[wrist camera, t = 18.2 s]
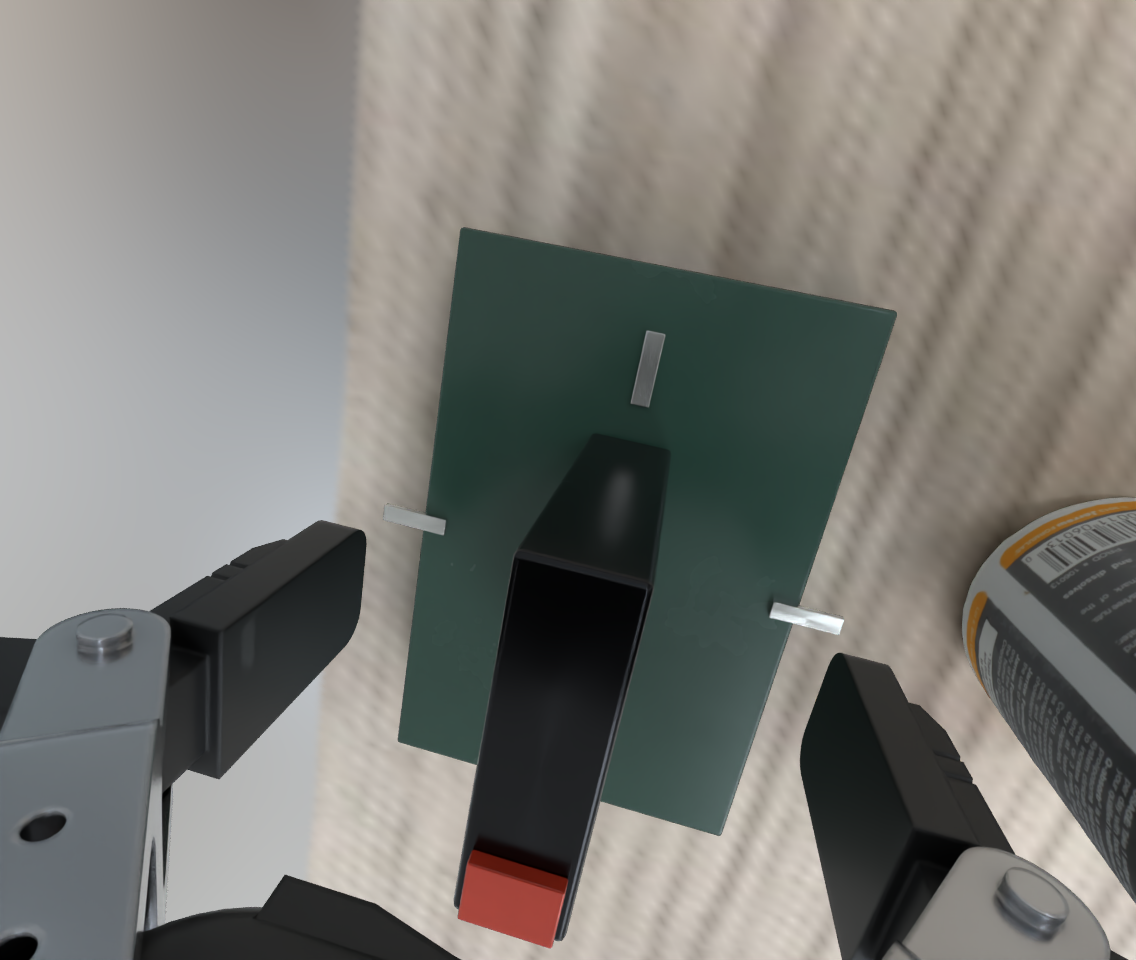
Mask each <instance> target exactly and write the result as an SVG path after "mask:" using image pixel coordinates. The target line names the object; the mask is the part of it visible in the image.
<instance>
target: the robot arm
mask: <svg viewBox="0 0 1136 960" xmlns="http://www.w3.org/2000/svg"><path fill="white" fill-rule="evenodd" d="M365 556H366V536H365V533H364V532H363V531H362V530H359V529H355V528H351V527H347V526H343V525H339V524H335V523H331V522H327V521H323V520H321V521H317V522H315V523H314V524H312V525H311V526H309V527H308V528H306V529H304V530H303V531H301V532H300V533H298V534H297V535H295V536H294V537H292V538H290V539H289V540H284V539H282V540H279V541H275V542H272V543H268V544H265V545H262V546H258V547H255V548H252V549H251V550H249V551H247V552H246V553H244V554H242V555H241V556H239V557H237V558H236V559H234V560H232V561H231V563H230V565H227V564H226V565H224V566H223V567H221V568H219V569H218V570H216V571H214V572H213V573H212V576H211V577H210V576H206V577H205V578H203V579H201V580H200V581H198V582H197V583H195V584H193V585H192V586H190V587H188V588H187V589H185V590H183V591H182V592H180V593H178V594H177V595H175V596H174V597H172V598H170V599H169V600H167V601H165V602H164V603H162V604H161V605H159V606H157V607H156V608H154V609H153V610H151V611H149V612H148V611H144V610H138V609H127V608H119V609H118V608H117V609H105V610H98V611H92V612H88V613H84V614H80V615H77V616H74V617H71V618H68V619H66V620H64V621H61V622H59V623H57V624H55V625H54V626H52V627H50V628H49V629H48V630H46V631H45V632H44V633H43V634H42V635H41V636H40V637H39V638H38V639H23V638H5V637H0V960H461V959H459V958H457V957H455V956H454V955H452V954H451V953H449V952H448V951H446V950H444V949H443V948H441V947H440V946H438V945H437V944H435V943H434V942H432V941H431V940H429V939H428V938H426V937H425V936H423V935H422V934H420V933H419V932H417V931H416V930H414V929H413V928H411V927H410V926H408V925H407V924H405V923H404V922H402V921H401V920H399V919H398V918H396V917H395V916H393V915H392V914H390V913H389V912H387V911H386V910H384V909H383V908H381V907H380V906H378V905H377V904H375V903H372V902H369V901H365V900H362V899H359V898H356V897H353V896H350V895H347V894H344V893H341V892H337V891H334V890H331V889H328V888H325V887H322V886H319V885H316V884H313V883H309V882H306V881H303V880H300V879H296V878H294V877H291V876H288V875H284V877H283V878H282V880H281V881H280V883H279V884H278V885H277V887H276V888H275V890H274V891H273V893H272V894H271V896H270V897H269V899H268V900H267V902H266V903H265V904H264V906H263V907H262V908H261V907H245V908H233V909H222V910H217V911H211V912H206V913H200V914H196V915H192V916H189V917H185V918H182V919H178V920H175V921H171V922H168V923H166V924H165V914H166V899H167V882H168V868H169V852H170V836H171V835H170V834H171V820H172V805H173V783H174V782H175V780H177V779H178V778H179V777H180V776H181V775H182V774H183V773H184V772H185V771H186V770H191V771H194V772H197V773H200V774H203V775H207V776H210V777H213V778H216V779H220V778H221V777H222V776H223V775H224V773H226V772H227V770H229V769H230V768H231V766H232V765H233V764H234V763H235V762H236V761H237V760H238V759H239V758H240V757H241V756H242V755H243V754H244V753H245V752H246V751H247V750H248V748H249V747H250V746H251V745H252V744H253V743H254V742H255V741H256V740H257V739H258V738H259V737H260V736H261V735H262V734H263V733H264V731H265V730H266V729H267V728H268V727H269V726H270V725H271V724H272V723H273V722H274V721H275V720H276V719H277V718H278V717H279V716H280V714H282V713H283V712H284V710H285V709H286V708H287V707H288V706H289V705H290V704H291V703H292V702H293V701H294V700H295V699H296V698H297V697H298V696H299V695H300V693H301V692H302V691H303V690H304V689H305V688H306V687H307V686H308V685H309V684H310V683H311V682H312V681H313V680H314V679H315V678H316V677H317V676H318V675H319V673H320V672H321V671H322V670H323V669H324V668H325V667H326V666H327V665H328V664H329V663H330V662H331V661H332V660H333V659H334V658H335V657H336V655H337V654H338V653H339V652H340V651H341V650H342V649H343V648H344V647H345V646H346V645H347V643H348V642H349V640H350V639H351V637H352V635H353V633H354V631H355V628H356V626H357V623H358V619H359V615H360V609H361V598H362V588H363V577H364V566H365ZM800 770H801V776H802V780H803V785H804V789H805V794H806V798H807V803H808V807H809V812H810V816H811V821H812V825H813V830H814V834H815V839H816V843H817V848H818V853H819V857H820V862H821V866H822V871H823V875H824V880H825V884H826V889H827V893H828V898H829V902H830V907H831V911H832V916H833V920H834V925H835V929H836V934H837V938H838V943H839V947H840V952H841V956H842V960H1128V959H1126V958H1124V957H1122V956H1120V955H1118V954H1117V953H1115V952H1113V951H1111V950H1110V946H1109V941H1108V939H1107V936H1106V934H1105V932H1104V930H1103V928H1102V927H1101V925H1100V923H1099V922H1098V920H1097V919H1096V917H1095V916H1094V915H1093V913H1092V912H1091V911H1090V910H1089V908H1088V907H1087V906H1086V905H1085V904H1084V903H1083V902H1082V901H1081V900H1080V899H1079V898H1078V897H1077V896H1076V895H1075V894H1074V893H1073V892H1072V891H1071V890H1070V889H1069V888H1067V887H1066V886H1065V885H1064V884H1062V883H1061V882H1060V881H1059V880H1058V879H1056V878H1055V877H1053V876H1052V875H1050V874H1049V873H1048V872H1046V871H1045V870H1043V869H1041V868H1040V867H1038V866H1036V865H1035V864H1033V863H1031V862H1029V861H1027V860H1025V859H1023V858H1021V857H1019V856H1017V855H1015V853H1014V851H1013V850H1012V848H1011V846H1010V844H1009V842H1008V841H1007V839H1006V837H1005V835H1004V834H1003V832H1002V830H1001V828H1000V826H999V825H998V823H997V821H996V819H995V818H994V816H993V814H992V812H991V810H990V809H989V807H988V805H987V803H986V802H985V800H984V798H983V796H982V794H981V793H980V791H979V789H978V787H977V786H976V785H975V784H972V780H973V778H972V777H971V775H970V773H969V771H968V770H967V768H966V766H965V764H964V762H960V755H959V754H958V752H957V750H956V748H955V747H954V745H953V743H952V741H951V739H950V738H949V736H948V734H947V732H946V731H945V730H944V729H943V728H942V727H941V726H940V725H939V724H938V723H937V722H936V721H935V720H934V719H933V718H932V717H931V716H930V715H929V714H928V713H927V712H926V711H925V710H924V709H923V708H922V707H921V706H920V705H916V704H912V703H909V702H908V700H907V698H906V697H905V695H904V693H903V691H902V689H901V687H900V685H899V683H898V681H897V679H896V677H895V675H894V673H893V671H892V669H891V668H890V667H889V666H888V665H886V664H882V663H878V662H875V661H871V660H867V659H863V658H859V657H855V656H851V655H847V654H843V653H837V654H836V655H835V656H834V657H833V658H832V660H831V662H830V664H829V666H828V669H827V672H826V674H825V677H824V680H823V683H822V685H821V688H820V691H819V693H818V696H817V699H816V702H815V704H814V707H813V710H812V713H811V715H810V718H809V721H808V723H807V726H806V729H805V732H804V735H803V740H802V745H801V753H800Z"/></svg>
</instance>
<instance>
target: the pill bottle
mask: <svg viewBox="0 0 1136 960" xmlns="http://www.w3.org/2000/svg"><path fill="white" fill-rule="evenodd" d="M962 636H963V643H964V648H965V652H966V656H967V658H968V661H969V663H970V665H971V668H972V670H973V671H974V673H975V675H976V677H977V679H978V681H979V682H980V684H981V685H982V686H983V688H984V690H985V691H986V693H987V695H988V696H989V698H990V699H991V700H992V702H993V703H994V705H995V706H996V708H997V709H998V711H999V712H1000V714H1001V715H1002V716H1003V718H1004V719H1005V721H1006V722H1007V723H1008V725H1009V726H1010V728H1011V729H1012V731H1013V732H1014V734H1015V735H1016V737H1017V738H1018V740H1019V741H1020V742H1021V744H1022V745H1023V746H1024V748H1025V749H1026V751H1027V752H1028V754H1029V755H1030V757H1031V758H1032V760H1033V762H1034V763H1035V764H1036V766H1037V767H1038V768H1039V769H1040V771H1041V772H1042V773H1043V775H1044V776H1045V777H1046V779H1047V780H1048V781H1049V783H1050V784H1051V785H1052V787H1053V788H1054V790H1055V791H1056V792H1057V794H1058V795H1059V797H1060V798H1061V799H1062V801H1063V802H1064V804H1065V805H1066V806H1067V808H1068V809H1069V811H1070V812H1071V813H1072V815H1073V816H1074V817H1075V819H1076V820H1077V821H1078V823H1079V824H1080V826H1081V827H1082V829H1083V830H1084V832H1085V833H1086V835H1087V836H1088V837H1089V839H1090V840H1091V842H1092V843H1093V844H1094V846H1095V847H1096V849H1097V850H1098V851H1099V853H1100V854H1101V855H1102V857H1103V858H1104V860H1105V861H1106V863H1107V864H1108V866H1109V867H1110V868H1111V870H1112V871H1113V872H1114V874H1115V875H1116V877H1117V878H1118V880H1119V881H1120V883H1121V884H1122V885H1123V887H1124V888H1125V890H1126V891H1127V892H1128V894H1129V895H1130V897H1131V898H1132V899H1133V901H1134V902H1135V903H1136V498H1125V497H1124V498H1108V499H1101V500H1095V501H1089V502H1085V503H1080V504H1076V505H1072V506H1068V507H1065V508H1062V509H1059V510H1057V511H1054V512H1052V513H1049V514H1047V515H1044V516H1042V517H1040V518H1038V519H1037V520H1035V521H1033V522H1031V523H1029V524H1028V525H1027V526H1025V527H1024V528H1022V529H1021V530H1019V531H1018V532H1017V533H1015V534H1013V535H1012V536H1010V537H1009V538H1007V539H1005V540H1004V541H1003V542H1002V543H1001V544H1000V545H999V546H998V547H997V549H996V550H995V551H994V552H993V553H992V554H991V555H990V556H989V557H988V559H987V560H986V561H985V562H984V563H983V565H982V566H981V568H980V569H979V571H978V572H977V574H976V576H975V578H974V579H973V581H972V583H971V586H970V589H969V592H968V595H967V598H966V602H965V604H964V607H963V619H962Z"/></svg>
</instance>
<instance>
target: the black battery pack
mask: <svg viewBox="0 0 1136 960" xmlns="http://www.w3.org/2000/svg"><path fill="white" fill-rule="evenodd" d="M670 462H671V451H669V450H668V449H664V448H659V447H655V446H651V445H646V444H642V443H637V442H633V441H629V440H624V439H620V438H615V437H611V436H607V435H602V434H598V433H595V434H592V435H591V437H590V438H589V440H588V441H587V443H586V444H585V446H584V448H583V449H582V451H581V452H580V454H579V455H578V457H577V458H576V460H575V461H574V463H573V464H572V466H571V467H570V469H569V470H568V472H567V474H566V475H565V477H564V478H563V480H562V481H561V483H560V484H559V486H558V487H557V489H556V490H555V492H554V493H553V495H552V496H551V498H550V500H549V501H548V503H547V504H546V506H545V507H544V509H543V510H542V512H541V513H540V515H539V516H538V518H537V519H536V521H535V522H534V524H533V526H532V527H531V529H530V530H529V532H528V533H527V535H526V536H525V538H524V539H523V541H522V542H521V544H520V545H519V547H518V548H517V550H516V552H515V553H514V555H513V560H512V566H511V572H510V578H509V583H508V589H507V595H506V601H505V607H504V612H503V618H502V624H501V630H500V635H499V641H498V647H497V653H496V658H495V664H494V670H493V676H492V681H491V687H490V693H489V699H488V705H487V710H486V716H485V722H484V728H483V733H482V739H481V745H480V751H479V756H478V762H477V768H476V774H475V779H474V785H473V791H472V797H471V802H470V808H469V814H468V820H467V826H466V831H465V837H464V843H463V849H462V854H461V860H460V866H459V872H458V877H457V883H456V889H455V895H454V906H455V907H456V908H457V909H459V911H458V919H460V920H463V921H466V922H469V923H472V924H475V925H478V926H482V927H485V928H488V929H491V930H494V931H497V932H500V933H503V934H506V935H509V936H513V937H516V938H519V939H522V940H525V941H528V942H531V943H534V944H537V945H540V946H544V947H547V948H552V946H553V942H554V940H555V941H562V940H563V938H564V937H565V936H566V933H567V930H568V926H569V922H570V918H571V914H572V910H573V906H574V902H575V898H576V894H577V890H578V886H579V882H580V879H581V875H582V871H583V867H584V863H585V859H586V855H587V851H588V847H589V843H590V839H591V835H592V832H593V828H594V824H595V820H596V816H597V812H598V808H599V804H600V800H601V796H602V792H603V788H604V784H605V781H606V777H607V773H608V769H609V765H610V761H611V757H612V753H613V749H614V745H615V741H616V737H617V733H618V730H619V726H620V722H621V718H622V714H623V710H624V706H625V702H626V698H627V694H628V690H629V686H630V683H631V679H632V675H633V671H634V667H635V663H636V659H637V655H638V651H639V647H640V643H641V639H642V635H643V632H644V628H645V624H646V620H647V616H648V612H649V608H650V604H651V600H652V596H653V592H654V587H655V579H656V571H657V563H658V556H659V548H660V540H661V532H662V524H663V517H664V509H665V501H666V493H667V485H668V477H669V470H670Z"/></svg>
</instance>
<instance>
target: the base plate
mask: <svg viewBox="0 0 1136 960" xmlns="http://www.w3.org/2000/svg"><path fill="white" fill-rule="evenodd" d="M896 317H897V312H896V311H894V310H889V309H883V308H878V307H873V306H868V305H863V304H858V303H853V302H847V301H842V300H837V299H832V298H827V297H822V296H816V295H811V294H806V293H801V292H796V291H791V290H786V289H780V288H775V287H770V286H765V285H760V284H755V283H749V282H744V281H739V280H734V279H729V278H724V277H719V276H713V275H708V274H703V273H698V272H693V271H688V270H682V269H677V268H672V267H667V266H662V265H657V264H652V263H646V262H641V261H636V260H631V259H626V258H621V257H615V256H610V255H605V254H600V253H595V252H590V251H585V250H579V249H574V248H569V247H564V246H559V245H554V244H548V243H543V242H538V241H533V240H528V239H523V238H518V237H512V236H507V235H502V234H497V233H492V232H487V231H481V230H476V229H471V228H466V227H463V228H461V230H460V237H459V245H458V253H457V261H456V269H455V278H454V286H453V294H452V302H451V310H450V318H449V326H448V335H447V343H446V351H445V359H444V367H443V375H442V383H441V392H440V400H439V408H438V416H437V424H436V432H435V440H434V449H433V457H432V465H431V473H430V481H429V489H428V497H427V506H426V512H422V511H417V510H413V509H409V508H405V507H401V506H397V505H393V504H389V503H387V504H386V505H385V506H384V516H383V520H385V521H389V522H393V523H396V524H400V525H404V526H408V527H412V528H416V529H420V530H423V538H422V546H421V554H420V563H419V571H418V579H417V587H416V595H415V603H414V611H413V620H412V628H411V636H410V644H409V652H408V660H407V668H406V677H405V685H404V693H403V701H402V709H401V717H400V725H399V734H398V742H400V743H403V744H407V745H410V746H414V747H417V748H421V749H424V750H427V751H431V752H434V753H438V754H441V755H444V756H448V757H451V758H455V759H458V760H461V761H465V762H468V763H472V764H475V765H477V762H478V756H479V751H480V745H481V739H482V733H483V728H484V722H485V716H486V710H487V705H488V699H489V693H490V687H491V681H492V676H493V670H494V664H495V658H496V653H497V647H498V641H499V635H500V630H501V624H502V618H503V612H504V607H505V601H506V595H507V589H508V583H509V578H510V572H511V566H512V560H513V555H514V553H515V552H516V550H517V548H518V547H519V545H520V544H521V542H522V541H523V539H524V538H525V536H526V535H527V533H528V532H529V530H530V529H531V527H532V526H533V524H534V522H535V521H536V519H537V518H538V516H539V515H540V513H541V512H542V510H543V509H544V507H545V506H546V504H547V503H548V501H549V500H550V498H551V496H552V495H553V493H554V492H555V490H556V489H557V487H558V486H559V484H560V483H561V481H562V480H563V478H564V477H565V475H566V474H567V472H568V470H569V469H570V467H571V466H572V464H573V463H574V461H575V460H576V458H577V457H578V455H579V454H580V452H581V451H582V449H583V448H584V446H585V444H586V443H587V441H588V440H589V438H590V437H591V435H592V434H595V433H598V434H602V435H607V436H611V437H615V438H620V439H624V440H629V441H633V442H637V443H642V444H646V445H651V446H655V447H659V448H664V449H668V450H669V451H671V462H670V470H669V477H668V485H667V493H666V501H665V509H664V517H663V524H662V532H661V540H660V548H659V556H658V563H657V571H656V579H655V587H654V592H653V596H652V600H651V604H650V608H649V612H648V616H647V620H646V624H645V628H644V632H643V635H642V639H641V643H640V647H639V651H638V655H637V659H636V663H635V667H634V671H633V675H632V679H631V683H630V686H629V690H628V694H627V698H626V702H625V706H624V710H623V714H622V718H621V722H620V726H619V730H618V733H617V737H616V741H615V745H614V749H613V753H612V757H611V761H610V765H609V769H608V773H607V777H606V781H605V784H604V788H603V792H602V796H601V800H600V801H601V802H605V803H608V804H612V805H615V806H618V807H622V808H625V809H629V810H632V811H636V812H639V813H642V814H646V815H649V816H653V817H656V818H659V819H663V820H666V821H670V822H673V823H677V824H680V825H683V826H687V827H690V828H694V829H697V830H700V831H704V832H707V833H711V834H714V835H717V836H720V835H721V834H722V831H723V828H724V825H725V822H726V820H727V817H728V814H729V811H730V808H731V805H732V802H733V799H734V796H735V793H736V790H737V787H738V784H739V781H740V778H741V775H742V772H743V769H744V766H745V763H746V760H747V757H748V755H749V752H750V749H751V746H752V743H753V740H754V737H755V734H756V731H757V728H758V725H759V722H760V719H761V716H762V713H763V710H764V707H765V704H766V701H767V698H768V695H769V692H770V690H771V687H772V684H773V681H774V678H775V675H776V672H777V669H778V666H779V663H780V660H781V657H782V654H783V651H784V648H785V645H786V642H787V639H788V636H789V633H790V630H791V628H792V625H793V624H797V625H801V626H805V627H809V628H813V629H817V630H821V631H825V632H829V633H833V634H837V635H839V633H840V631H841V628H842V625H843V623H844V618H843V616H840V615H836V614H832V613H828V612H824V611H820V610H816V609H812V608H808V607H804V606H800V605H799V604H800V601H801V598H802V595H803V592H804V589H805V586H806V583H807V580H808V577H809V574H810V571H811V568H812V565H813V563H814V560H815V557H816V554H817V551H818V548H819V545H820V542H821V539H822V536H823V533H824V530H825V527H826V524H827V521H828V518H829V515H830V512H831V509H832V506H833V503H834V500H835V498H836V495H837V492H838V489H839V486H840V483H841V480H842V477H843V474H844V471H845V468H846V465H847V462H848V459H849V456H850V453H851V450H852V447H853V444H854V441H855V438H856V435H857V433H858V430H859V427H860V424H861V421H862V418H863V415H864V412H865V409H866V406H867V403H868V400H869V397H870V394H871V391H872V388H873V385H874V382H875V379H876V376H877V373H878V371H879V368H880V365H881V362H882V359H883V356H884V353H885V350H886V347H887V344H888V341H889V338H890V335H891V332H892V329H893V326H894V323H895V320H896Z"/></svg>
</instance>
